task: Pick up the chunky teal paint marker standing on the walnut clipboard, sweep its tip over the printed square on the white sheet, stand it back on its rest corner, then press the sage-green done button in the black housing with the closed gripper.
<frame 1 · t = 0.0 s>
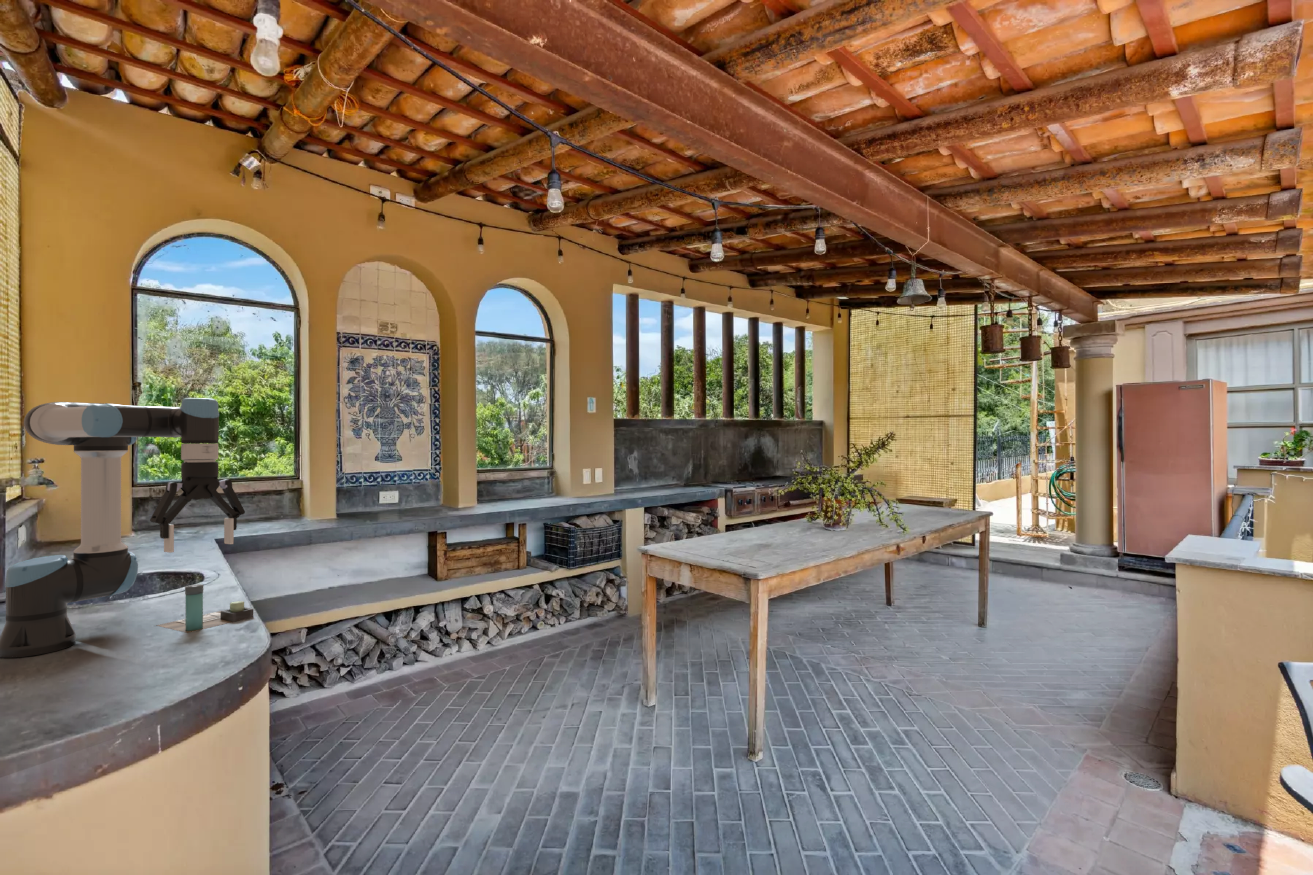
hand: (200, 547, 159), 28 cm above the worktop, fingers open, 13 cm apart
done button: (237, 607, 194), point 4 cm above the worktop, slide at 0.0 cm
clipboard: (205, 625, 191), on the worktop
marker: (194, 628, 183), point 1 cm above the worktop, touching clipboard
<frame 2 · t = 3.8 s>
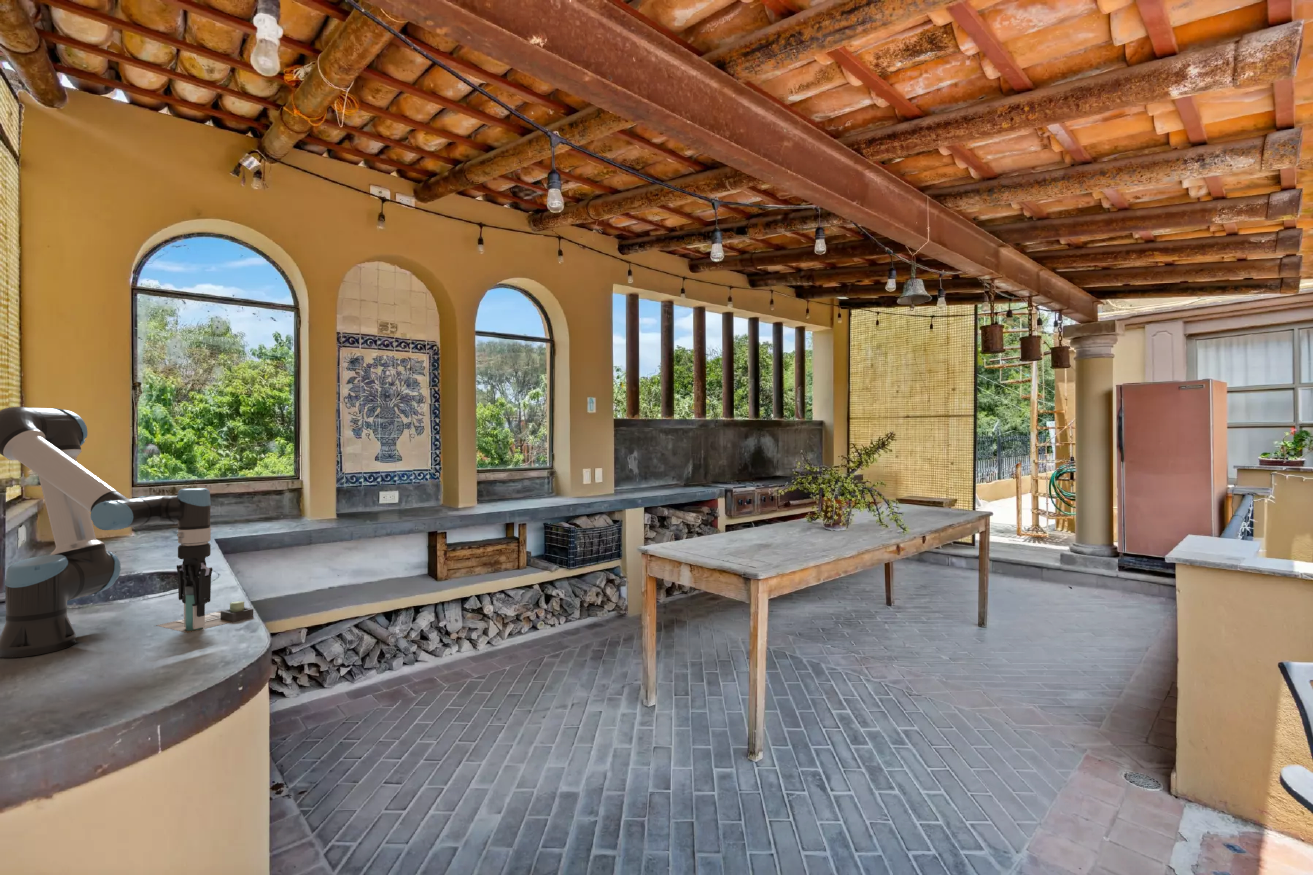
hand: (194, 626, 183), 2 cm above the worktop, fingers closed on marker, 4 cm apart
marker: (194, 628, 183), point 1 cm above the worktop, touching clipboard, gripper
everything else where it was.
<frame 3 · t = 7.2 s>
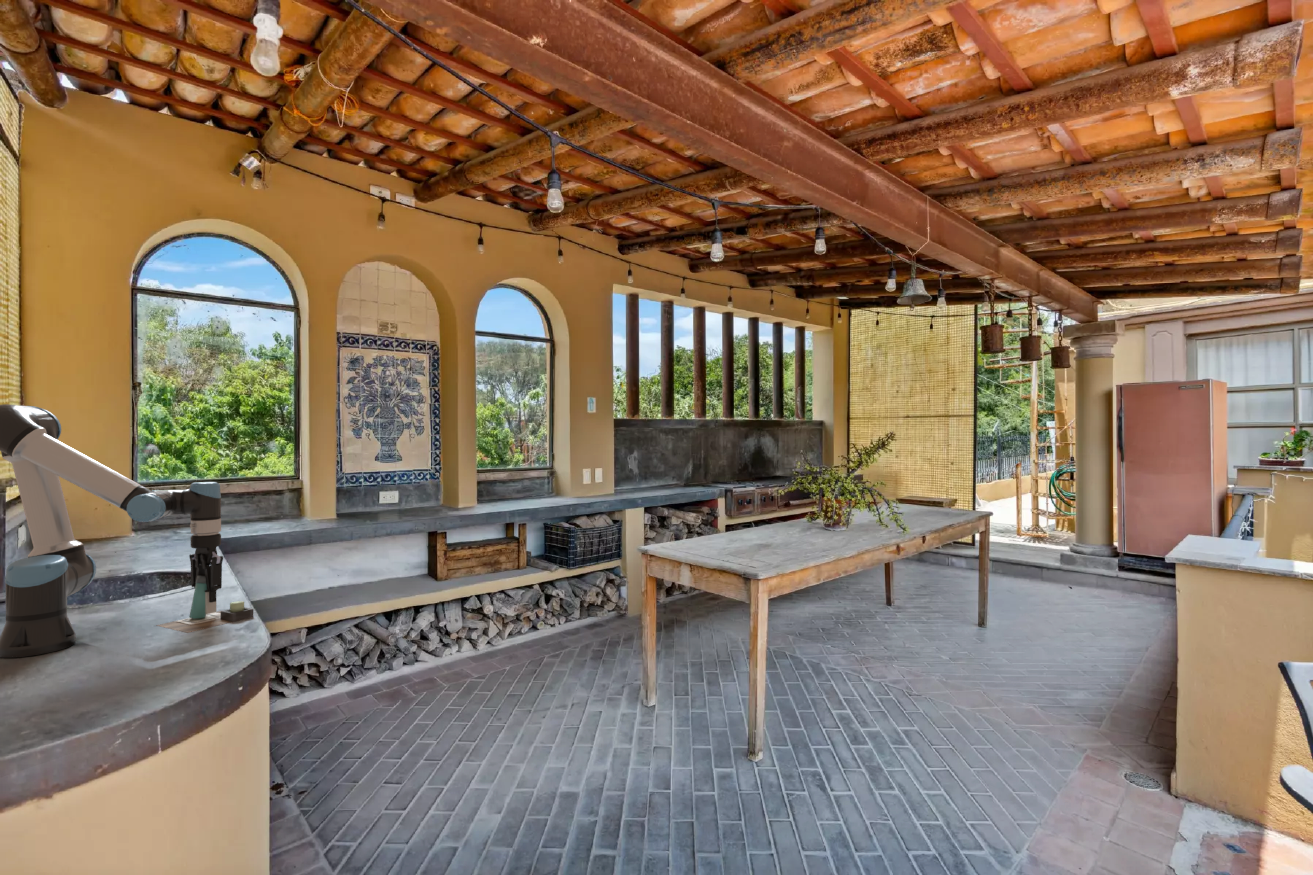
hand: (206, 611, 195), 3 cm above the worktop, fingers closed on marker, 4 cm apart
marker: (197, 617, 192), point 2 cm above the worktop, tilted 11°, touching clipboard, gripper
everything else where it was.
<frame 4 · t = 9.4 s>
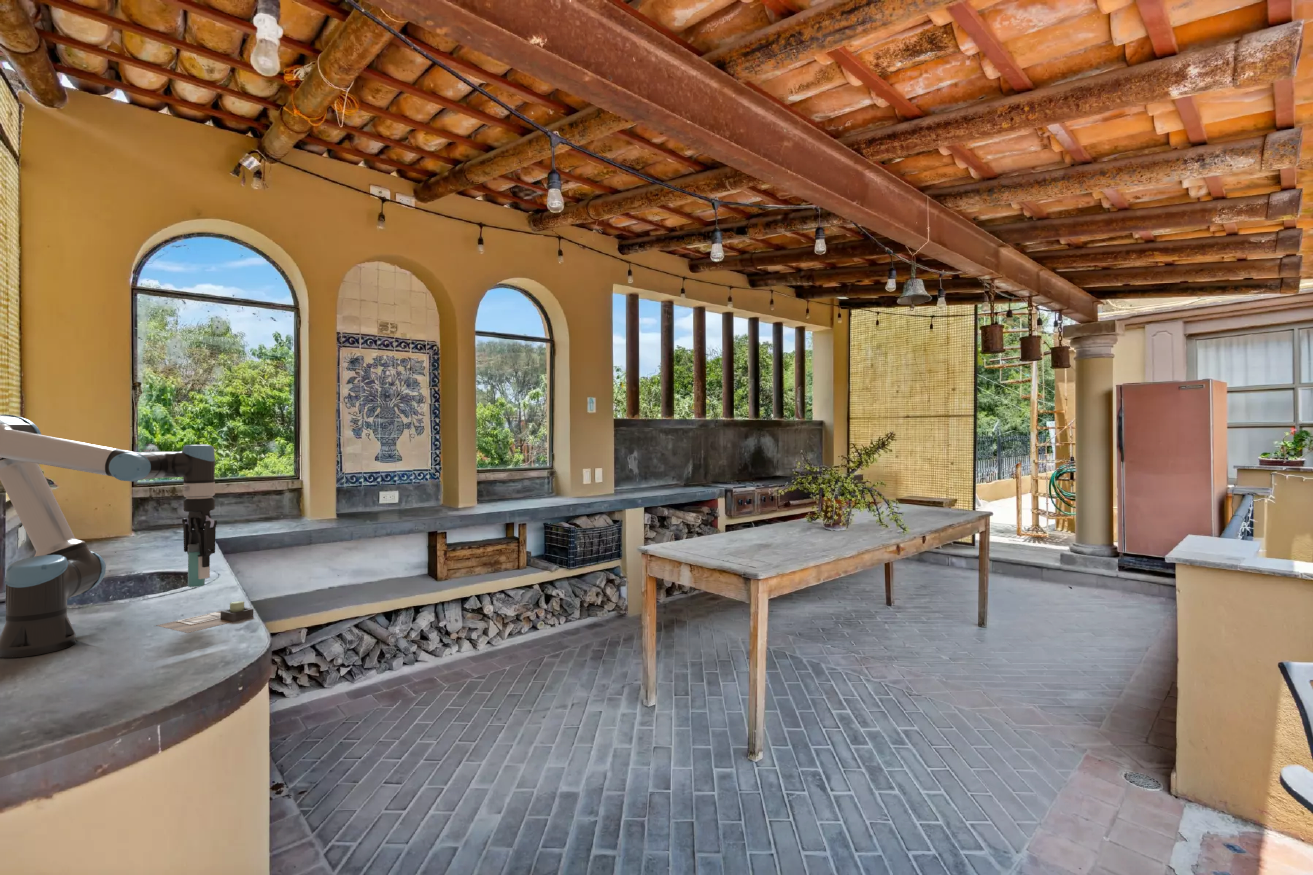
hand: (199, 577, 190), 14 cm above the worktop, fingers closed on marker, 4 cm apart
marker: (196, 585, 189), point 12 cm above the worktop, touching gripper
everything else where it was.
when the fingers open (3 cm above the worktop, at t = 10.8 s): marker stays where it is, resting on clipboard.
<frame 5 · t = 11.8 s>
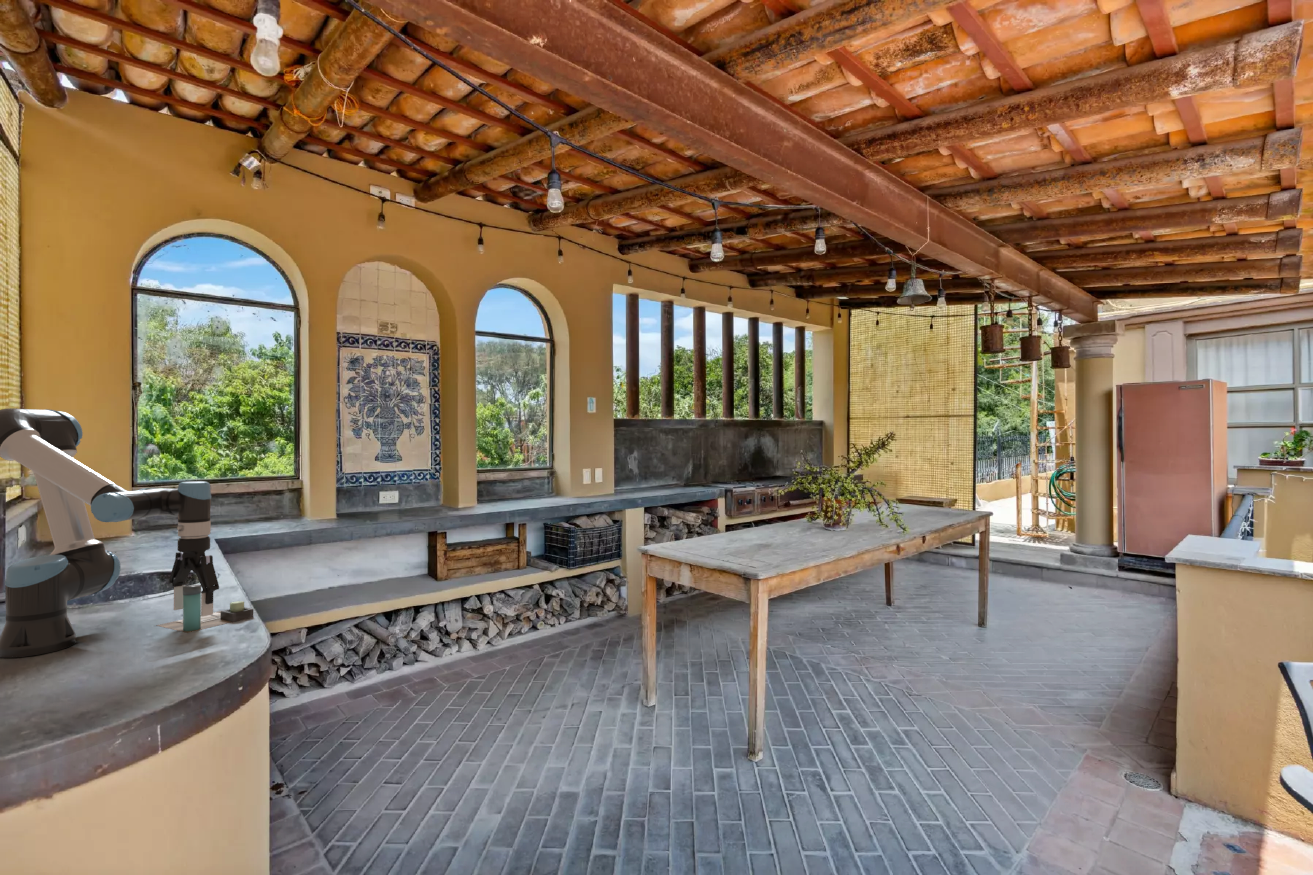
hand: (193, 612, 183), 6 cm above the worktop, fingers open, 13 cm apart
marker: (191, 629, 182), point 1 cm above the worktop, touching clipboard
everything else where it was.
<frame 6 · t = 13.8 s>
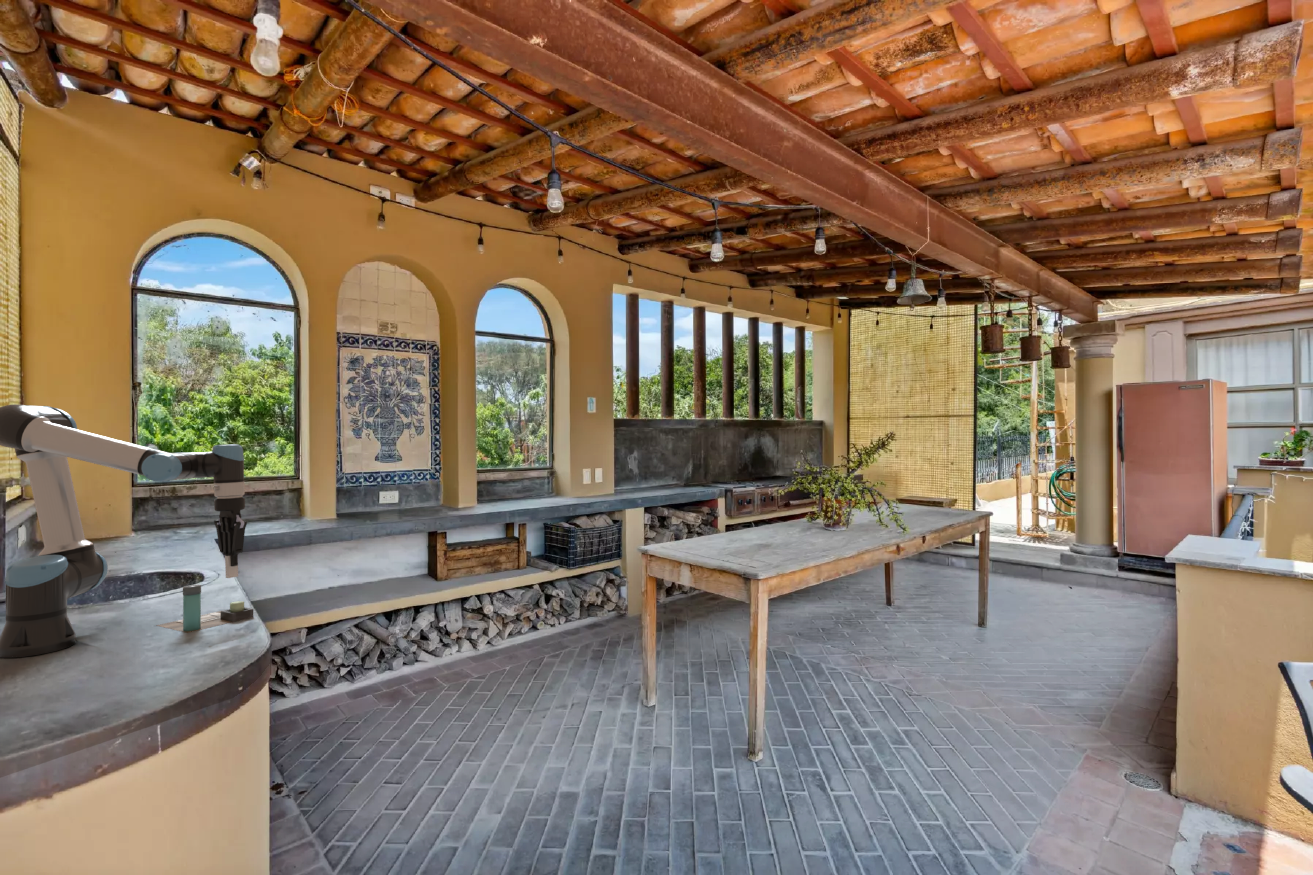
hand: (232, 576, 191), 14 cm above the worktop, fingers closed
nothing on the worktop moved.
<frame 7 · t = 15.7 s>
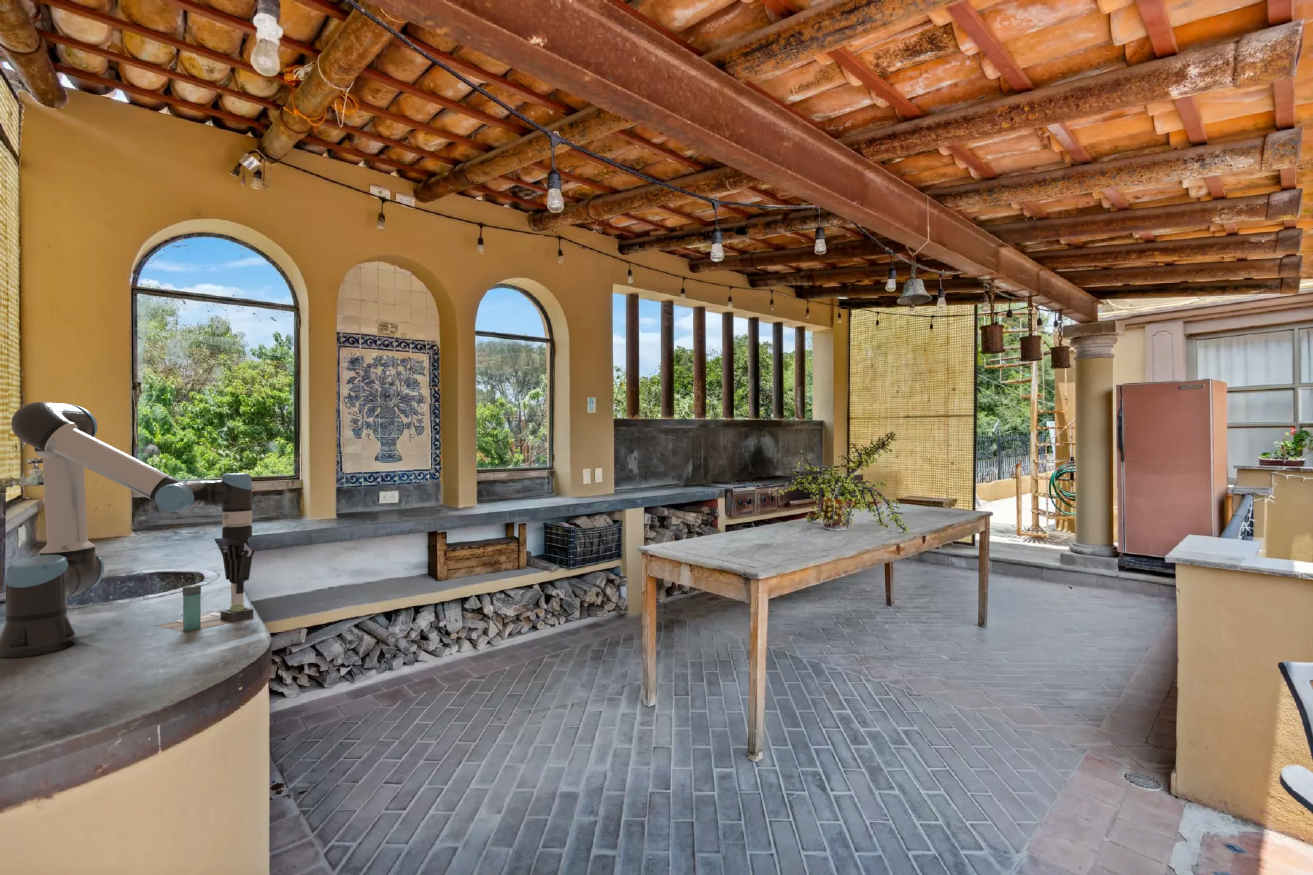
hand: (237, 604, 194), 5 cm above the worktop, fingers closed
done button: (237, 609, 194), point 4 cm above the worktop, slide at 0.7 cm, touching gripper
everything else where it was.
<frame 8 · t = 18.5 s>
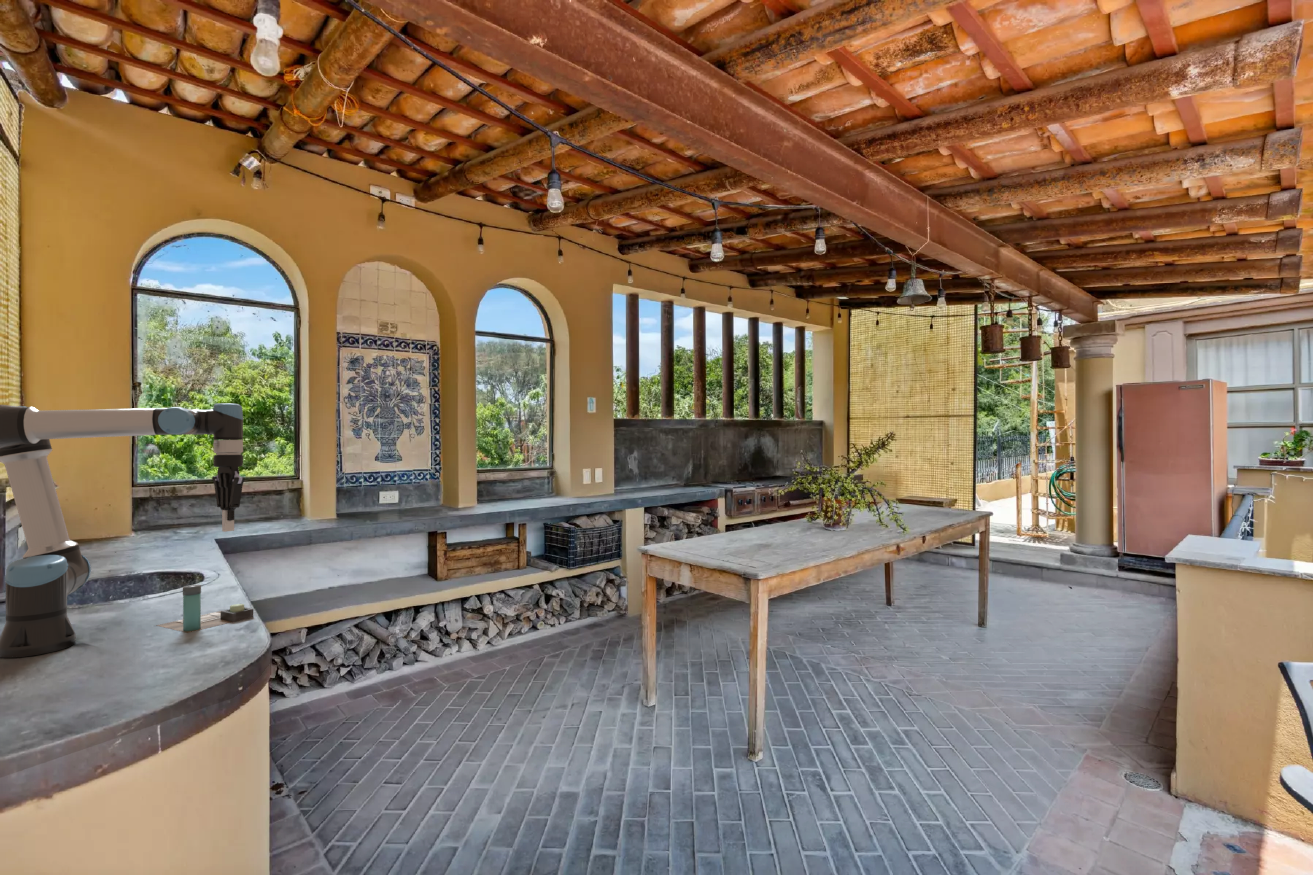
hand: (228, 530, 199), 26 cm above the worktop, fingers closed
done button: (237, 610, 194), point 4 cm above the worktop, slide at 0.8 cm
everything else where it was.
at the end: done button slide at 0.8 cm; marker inside the target area (0.6 cm from its centre), point 1.2 cm above the worktop; marker tilted 0° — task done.
